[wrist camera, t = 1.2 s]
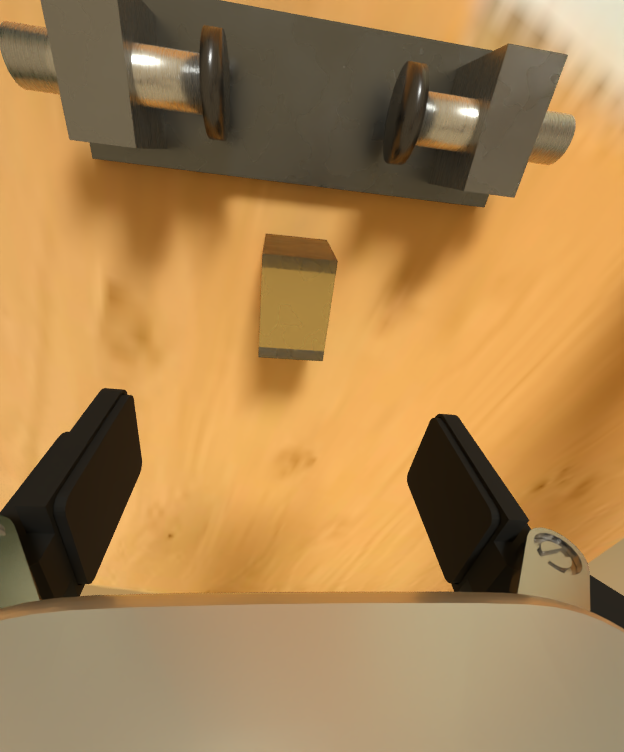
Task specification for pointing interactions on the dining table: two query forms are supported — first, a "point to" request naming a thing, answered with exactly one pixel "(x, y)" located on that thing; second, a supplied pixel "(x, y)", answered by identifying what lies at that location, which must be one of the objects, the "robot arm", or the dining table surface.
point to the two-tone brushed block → (295, 297)
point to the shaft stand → (292, 97)
